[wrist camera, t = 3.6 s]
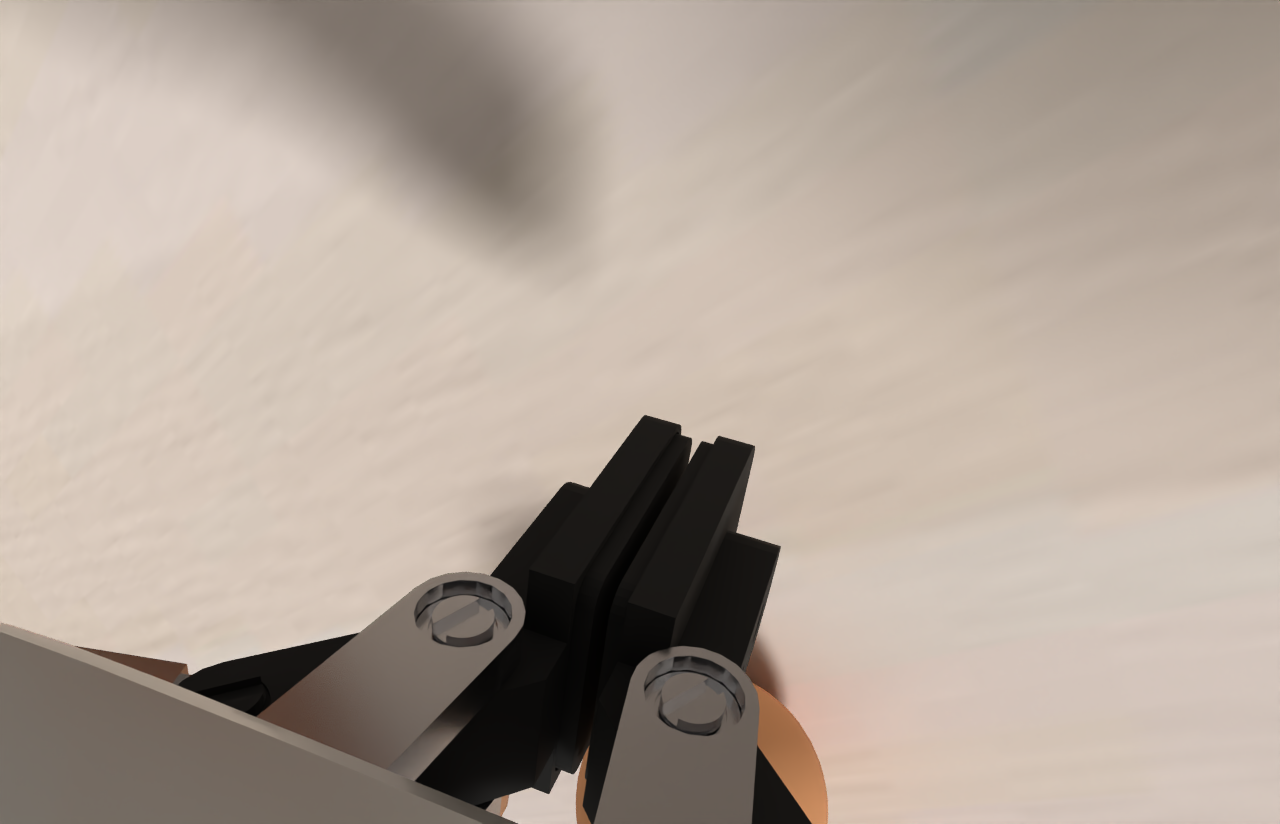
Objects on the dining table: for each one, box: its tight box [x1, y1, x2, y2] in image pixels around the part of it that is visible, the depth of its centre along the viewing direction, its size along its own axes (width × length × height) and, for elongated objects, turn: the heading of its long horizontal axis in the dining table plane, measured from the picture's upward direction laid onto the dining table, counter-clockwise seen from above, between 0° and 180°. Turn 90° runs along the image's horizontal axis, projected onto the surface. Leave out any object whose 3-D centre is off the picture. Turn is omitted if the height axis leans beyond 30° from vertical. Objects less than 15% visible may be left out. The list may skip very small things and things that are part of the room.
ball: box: [576, 683, 828, 824], centre depth 19 cm, size 6×6×6 cm
